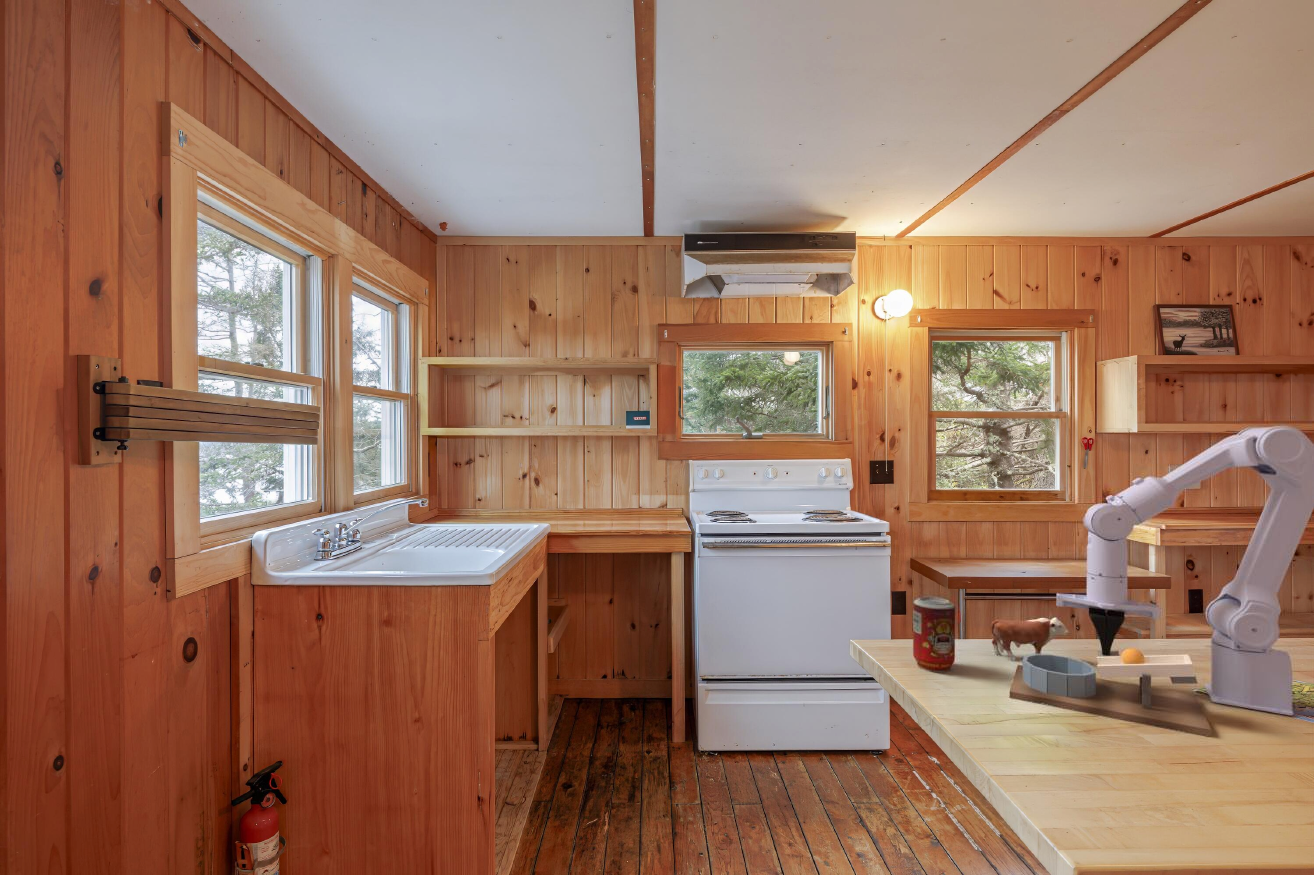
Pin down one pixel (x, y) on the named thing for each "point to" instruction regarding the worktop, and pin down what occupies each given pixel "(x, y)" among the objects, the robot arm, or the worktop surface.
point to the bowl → (1059, 675)
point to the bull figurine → (1025, 633)
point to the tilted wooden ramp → (1148, 667)
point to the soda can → (934, 633)
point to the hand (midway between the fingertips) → (1105, 653)
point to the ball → (1132, 657)
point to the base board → (1126, 703)
